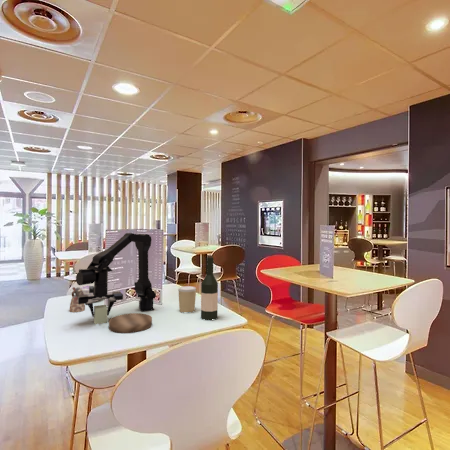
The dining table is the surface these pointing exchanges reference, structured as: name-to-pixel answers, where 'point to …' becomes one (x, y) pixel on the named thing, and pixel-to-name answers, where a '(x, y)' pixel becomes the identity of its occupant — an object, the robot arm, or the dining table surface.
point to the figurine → (76, 301)
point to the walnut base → (130, 323)
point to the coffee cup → (187, 298)
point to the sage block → (100, 314)
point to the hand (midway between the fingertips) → (100, 316)
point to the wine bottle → (209, 293)
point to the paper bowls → (87, 291)
